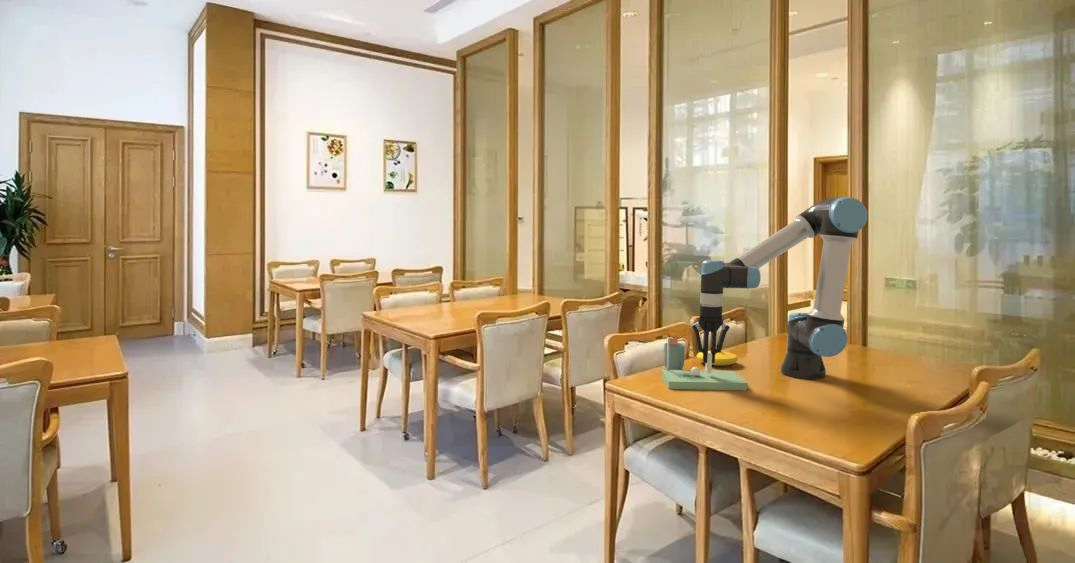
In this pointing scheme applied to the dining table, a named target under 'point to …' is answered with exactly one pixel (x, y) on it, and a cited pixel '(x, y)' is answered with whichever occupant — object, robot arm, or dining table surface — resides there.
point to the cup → (675, 356)
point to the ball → (695, 371)
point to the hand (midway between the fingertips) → (708, 372)
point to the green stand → (701, 377)
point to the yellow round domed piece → (721, 358)
